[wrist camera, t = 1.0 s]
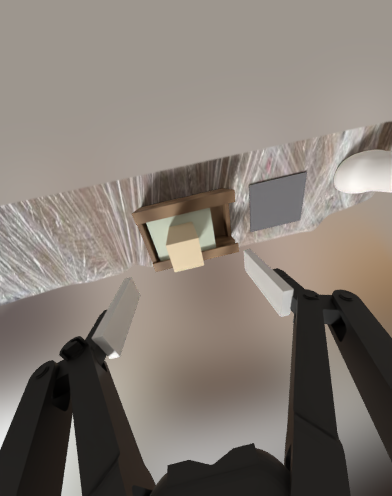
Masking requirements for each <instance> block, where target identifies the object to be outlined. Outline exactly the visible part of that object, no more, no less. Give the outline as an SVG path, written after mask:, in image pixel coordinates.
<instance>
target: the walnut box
mask: <svg viewBox="0 0 392 496" xmlns="http://www.w3.org/2000/svg"><path fill="white" fill-rule="evenodd" d="M232 202H235V191H234V190H232V189H225V188H221V189H216V190H212V191H208V192H204V193H199V194H195V195H191V196H187V197H182V198H178V199H174V200H169V201H165V202H161V203H157V204H152V205H148V206H144V207H141V208H139V209H138V210H136V211H135V212H134V213H132V216H133V218H134V221H135V223H136V225H137V226H138V228H139V231H140V233H141V235H142V238H143V240H144V243H145V245H146V248H147V250H148V252H149V255H150V257H151V260H152V262H153V266H154V268H155V271H156V272H158V271H162V270H166V269H170V268H173V266H172V263H171V260H170V259H168V260H164V261H160V258H159V255H158V253H157V250H156V247H155V245H154V242H153V240H152V237H151V234H150V232H149V229H148V226H147V224H146V223H147V222H151V221H156V220H160V219H164V218H168V217H173V216H177V215H181V214H185V213H189V212H194V211H198V210H202V209H206V208H210V212H211V218H212V224H213V231H214V237H215V244H216V248H213V249H209V250H205V251H201V252H202V257H203V260H207V259H211V258H215V257H219V256H223V255H227V254H232V253H236V252H239V247H238V243H235V240H234V239H233V238H232V236H231V226H230V215H229V204H228V203H232Z"/></svg>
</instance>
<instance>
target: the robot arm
mask: <svg viewBox="0 0 392 496" xmlns="http://www.w3.org/2000/svg"><path fill="white" fill-rule="evenodd" d="M244 264H245V270H246V272H247V273H248V275H249V276H250V277H251V279H252V280H253V281H254V282H255V284H256V285H257V286H258V288H259V289H260V290H261V292H262V293H263V294H264V296H265V297H266V298H267V300H268V301H269V302H270V304H271V305H272V306H273V308H274V309H275V310H276V311H277V313H278V314H279V315H280V317H283V316H287V315H290V310H291V311H292V312H293V313H294V319H293V323H294V324H293V341H292V357H291V373H290V390H289V406H288V423H287V434H286V443H285V458H284V465H283V464H282V463H281V462H280V461H279V460H278V459H276V458H275V457H274V456H273V455H271V454H269V453H268V452H266V451H263V450H260V449H257V448H255V445H254V443H252V444H249V445H245V446H241V447H237V448H233V449H232V450H231V451H229V452H228V453H227V454H226V455H224V456H223V457H222V458H221V459H220V460H218V461H217V462H216V463H215V464H213V465H209V464H204V463H200V462H196V461H191V460H187V461H183V462H179V463H175V464H171V465H168V469H167V473H166V474H165V475H164V476H163V477H162V478H161V480H160V481H159V482H158V483H157V485H155V482H154V480H153V478H152V476H151V474H150V472H149V471H148V469H147V468H146V466H145V464H144V462H143V459H142V457H141V454H140V452H139V449H138V446H137V444H136V441H135V438H134V435H133V433H132V430H131V427H130V425H129V422H128V420H127V417H126V414H125V411H124V409H123V406H122V403H121V401H120V398H119V395H118V393H117V390H116V387H115V385H114V382H113V379H112V377H111V374H110V371H109V369H108V366H107V363H106V362H105V361H104V360H105V358H106V355H107V356H108V357H109V358H110V359H112V358H116V357H120V355H121V352H122V348H123V346H124V342H125V340H126V336H127V334H128V330H129V328H130V325H131V322H132V318H133V316H134V313H135V310H136V307H137V304H138V301H139V298H140V293H139V291H138V289H137V287H136V285H135V283H134V281H133V280H132V278H127V279H124V281H123V283H122V285H121V286H120V288H119V290H118V292H117V294H116V295H115V297H114V299H113V301H112V303H111V304H110V306H109V308H108V310H105V311H103V313H102V314H101V315H100V316H99V317H98V319H97V321H96V323H95V324H94V327H93V328H92V329H91V331H90V333H89V334H88V336H87V338H86V339H85V340H84V339H83V338H82V337H80V336H78V337H75V338H73V339H71V340H70V341H69V342H67V343H66V344H65V345H64V346H63V348H62V349H61V351H60V354H59V355H60V356H61V357H62V358H63V359H64V360H62V361H60V362H58V363H56V362H54V361H53V360H52V361H48V362H46V363H44V364H43V365H41V366H40V367H39V368H38V369H37V370H36V371H35V372H34V373H33V374H32V376H31V377H30V379H29V381H28V384H27V386H26V388H25V391H24V393H23V396H22V398H21V401H20V403H19V405H18V408H17V410H16V413H15V415H14V417H13V420H12V422H11V425H10V427H9V430H8V432H7V435H6V437H5V440H4V442H3V444H2V447H1V449H0V496H61V491H62V484H63V477H64V470H65V463H66V456H67V449H68V442H69V435H70V428H71V421H72V414H73V419H74V428H75V436H76V445H77V454H78V463H79V471H80V480H81V488H82V496H350V488H349V481H348V474H347V466H346V460H345V454H344V450H343V446H342V444H341V442H340V440H339V437H338V433H337V426H336V417H335V409H334V401H333V392H332V384H331V376H330V367H329V359H328V350H327V342H326V334H325V325H324V324H327V325H328V327H329V329H330V331H331V333H332V335H333V337H334V340H335V342H336V344H337V346H338V348H339V350H340V352H341V355H342V357H343V359H344V361H345V363H346V365H347V367H348V369H349V372H350V374H351V376H352V378H353V380H354V382H355V384H356V387H357V389H358V391H359V393H360V395H361V397H362V399H363V402H364V404H365V406H366V408H367V410H368V412H369V414H370V416H371V419H372V421H373V423H374V425H375V427H376V429H377V431H378V434H379V436H380V438H381V440H382V442H383V444H384V446H385V448H386V451H387V453H388V455H389V457H390V459H391V461H392V338H391V337H390V335H389V334H388V333H387V332H386V330H385V329H384V328H383V327H382V325H381V324H380V323H379V322H378V321H377V319H376V318H375V317H374V316H373V314H372V313H371V312H370V311H369V309H368V308H367V307H366V306H365V304H364V303H363V302H362V301H361V299H360V298H359V297H358V296H357V295H355V294H353V293H351V292H349V291H346V290H335V291H334V292H333V293H332V295H318V294H317V293H316V292H314V291H311V290H306V289H304V288H303V287H302V286H300V285H299V284H298V283H297V282H296V281H295V280H293V279H292V278H291V277H290V276H288V275H287V274H286V273H285V272H284V271H282V270H280V269H278V268H277V269H271V268H270V267H269V266H268V265H267V264H266V263H265V262H264V261H263V260H262V259H261V258H259V257H258V256H257V255H256V254H255V253H254V252H253V251H252V250H251V249H247V250H244Z"/></svg>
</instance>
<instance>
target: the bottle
mask: <svg viewBox="0 0 392 496" xmlns="http://www.w3.org/2000/svg"><path fill="white" fill-rule="evenodd" d="M334 186H335V188H336V189H337V190H339V191H341V192H345V193H363V192H367V191H381V192H391V193H392V151H384V150H369V151H363V152H360V153H357V154H354V155H352V156H350V157H348V158H347V159H345V160H344V161H343V162H342V163H341V164H340V166H339V167H338V169H337V170H336V173H335V175H334Z"/></svg>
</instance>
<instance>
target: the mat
mask: <svg viewBox="0 0 392 496" xmlns="http://www.w3.org/2000/svg"><path fill="white" fill-rule="evenodd" d="M306 176H307V172H304V173H300V174H295V175H291V176H287V177H282V178H278V179H274V180H270V181H265V182H261V183H257V184H253V185H249V197H250V232H253V231H258V230H262V229H266V228H270V227H274V226H278V225H282V224H287V223H291V222H295V221H299V220H300V218H301V211H302V204H303V197H304V190H305V183H306Z"/></svg>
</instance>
